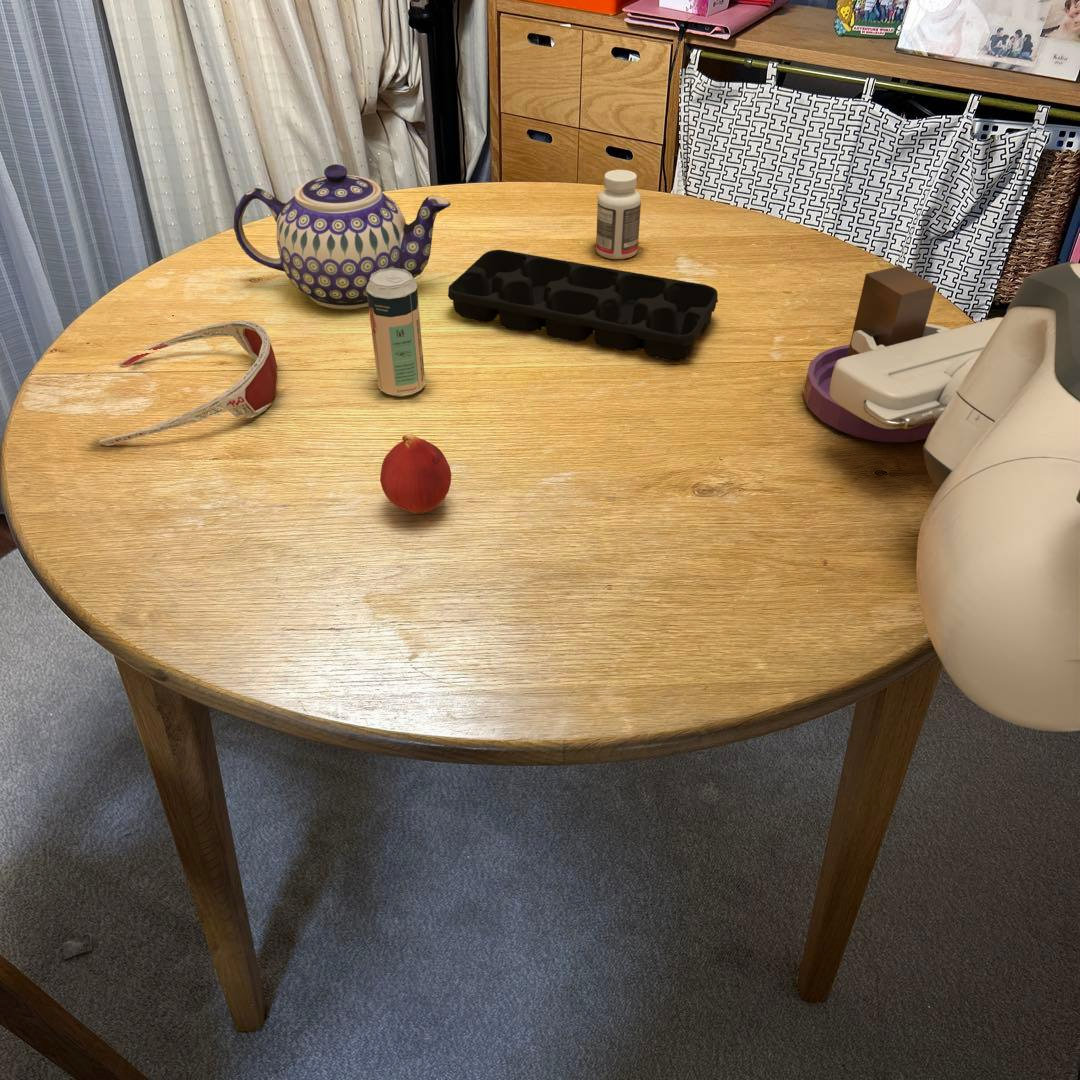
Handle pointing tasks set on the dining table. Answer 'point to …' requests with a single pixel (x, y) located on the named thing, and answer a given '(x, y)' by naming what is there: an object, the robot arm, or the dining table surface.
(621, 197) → the pill bottle
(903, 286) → the brown rectangular block
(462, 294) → the black muffin tray
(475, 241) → the dining table surface
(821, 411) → the purple round dish
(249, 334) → the sunglasses
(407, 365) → the beer can
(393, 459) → the onion
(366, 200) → the teapot
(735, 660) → the dining table surface
